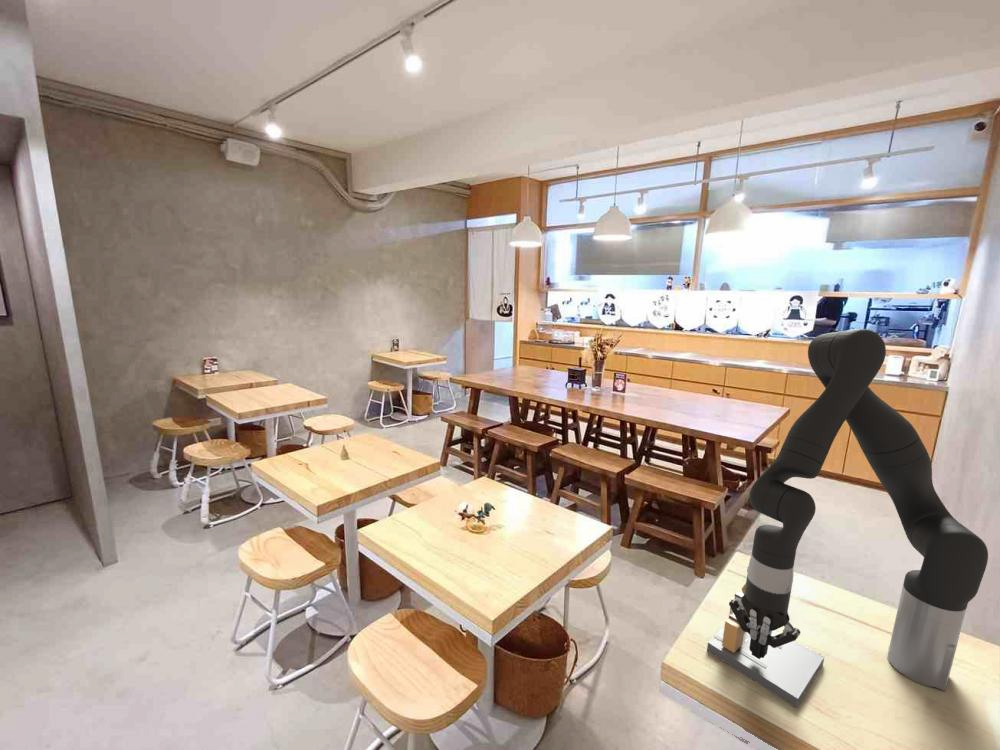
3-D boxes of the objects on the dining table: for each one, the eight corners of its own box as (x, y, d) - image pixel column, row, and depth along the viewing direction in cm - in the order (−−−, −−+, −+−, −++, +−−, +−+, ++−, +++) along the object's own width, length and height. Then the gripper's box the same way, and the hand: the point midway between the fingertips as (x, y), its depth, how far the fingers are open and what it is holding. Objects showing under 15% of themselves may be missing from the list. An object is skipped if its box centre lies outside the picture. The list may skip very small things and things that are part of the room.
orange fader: (742, 644, 95) (746, 617, 94) (734, 653, 93) (738, 626, 91) (730, 636, 97) (733, 610, 96) (721, 645, 95) (725, 619, 93)
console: (822, 665, 93) (824, 656, 93) (796, 707, 83) (798, 698, 83) (738, 618, 106) (739, 610, 106) (706, 650, 96) (708, 641, 96)
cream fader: (747, 620, 102) (751, 595, 101) (739, 628, 99) (743, 603, 98) (735, 614, 104) (739, 589, 103) (727, 622, 101) (731, 597, 100)
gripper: (814, 589, 85) (800, 666, 88) (742, 556, 95) (731, 627, 98) (801, 606, 80) (786, 687, 84) (726, 570, 90) (716, 644, 93)
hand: (757, 655), depth 91 cm, fingers closed
